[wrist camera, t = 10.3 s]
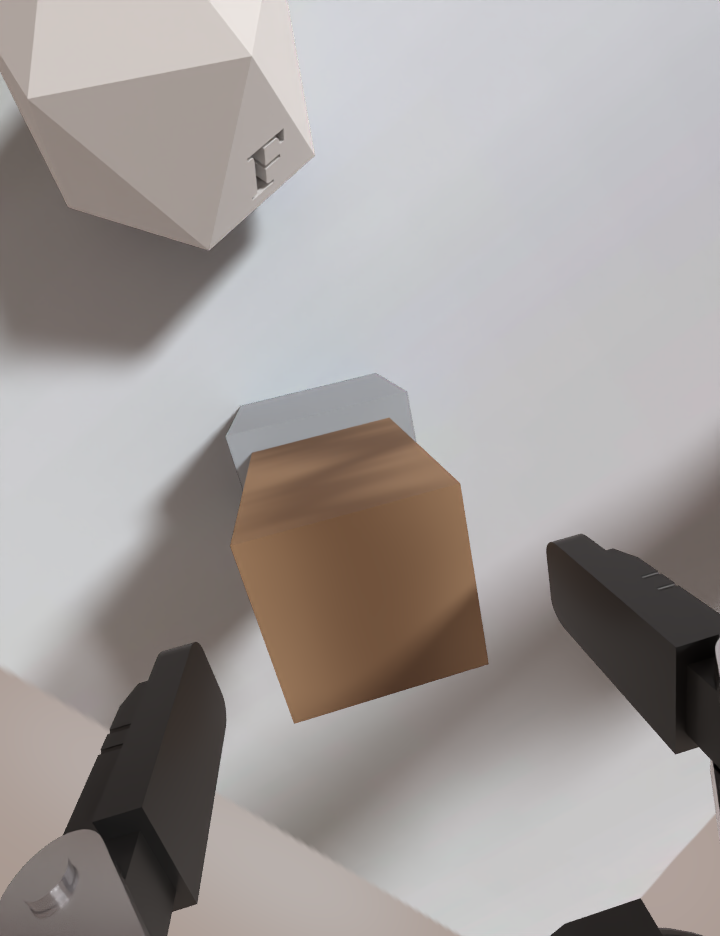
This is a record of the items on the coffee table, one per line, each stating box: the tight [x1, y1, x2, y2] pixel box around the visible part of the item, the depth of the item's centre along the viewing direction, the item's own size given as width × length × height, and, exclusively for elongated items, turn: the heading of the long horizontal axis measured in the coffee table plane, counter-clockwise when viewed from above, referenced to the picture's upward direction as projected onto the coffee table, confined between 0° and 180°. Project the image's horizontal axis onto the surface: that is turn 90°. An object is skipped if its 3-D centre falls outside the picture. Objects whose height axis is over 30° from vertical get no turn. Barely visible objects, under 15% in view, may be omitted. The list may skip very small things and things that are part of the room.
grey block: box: [225, 373, 416, 489], centre depth 20 cm, size 6×6×6 cm
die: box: [0, 0, 315, 250], centre depth 14 cm, size 8×9×10 cm
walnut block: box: [230, 418, 489, 724], centre depth 14 cm, size 5×5×7 cm
